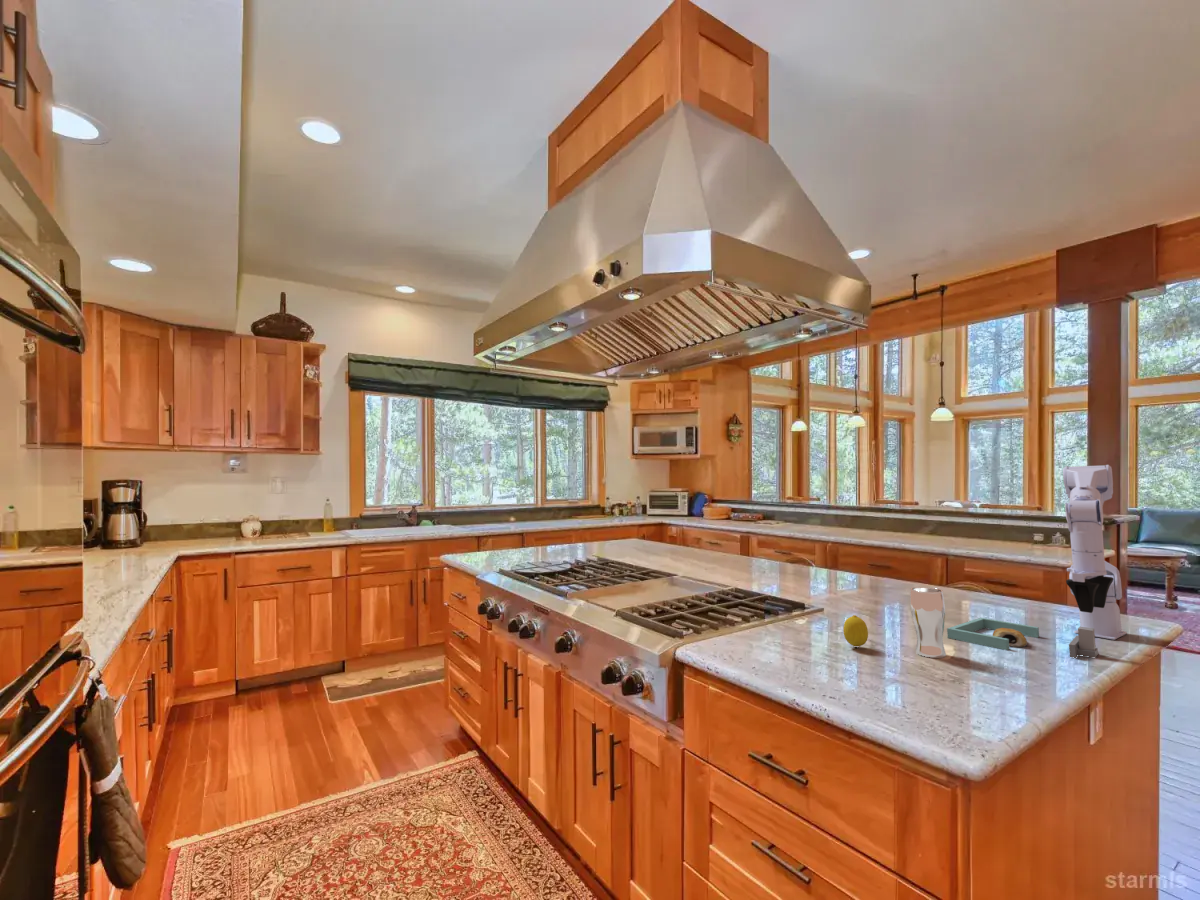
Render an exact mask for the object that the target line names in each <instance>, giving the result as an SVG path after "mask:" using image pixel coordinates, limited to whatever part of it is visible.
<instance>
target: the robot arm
mask: <svg viewBox="0 0 1200 900" xmlns="http://www.w3.org/2000/svg"><path fill="white" fill-rule="evenodd" d="M1112 468H1113V467H1112V466H1111V465H1109V464H1105V465H1081V466H1079V465H1078V466H1068V465H1065V466H1064V467H1063V468H1062V478H1063V479H1062V480H1063V485H1064V489H1065V494H1066V495H1067V498H1068V499H1069V502H1065V504H1064V505H1065V518H1066V521H1067V527H1068V528H1067V529H1068V532H1070V533H1069V534H1070V535H1069V537H1070V547H1071V559H1072V560H1071V561H1072V564H1071V565H1070V567H1067V568H1066V572H1069V574H1068V575H1069V578H1068V579H1065V580H1066V581H1065V582H1066V585H1067V586H1068V588H1069V590H1070V593H1071V594H1072V595H1073V597H1074V599H1075V601H1076V603H1077V607H1078V611H1079V612H1078V613H1079V615H1078V616H1079V625H1080V626H1079V627H1087V628H1094V632H1095V638H1102V639H1107V640H1117V639H1119V638H1121V637H1122V636H1123V637H1124V636H1125V635H1127V634H1128V633H1127V631H1125V630H1122V623H1121V622H1122V621H1121V609H1120V607H1119V605H1118V603H1117V600H1121V599H1122V598H1123V590H1122V581H1121V574H1120V570H1119V569H1118V567H1116V566H1115V565H1113V564H1112V563H1110V562H1108V561H1106V560H1105V549H1104V532H1103V523H1104V510H1103V509H1104V508H1103V506H1104V503H1105V502H1106V501H1109V500H1111V499H1112V498H1113V494H1114V488H1113V487H1114V481H1113V480H1114V479H1113V469H1112ZM1073 632H1074V634H1078V629H1076V630H1074V631H1073Z"/></svg>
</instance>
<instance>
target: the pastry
mask: <svg viewBox="0 0 1200 900" xmlns="http://www.w3.org/2000/svg"><path fill="white" fill-rule="evenodd" d="M992 636H996V637H1001V638H1006V639H1009V647H1016V648H1023V647H1025V646H1026V647H1027V643H1028V641H1027V638H1026V636H1025V635H1023V634H1022V633H1021V632H1019V631H1016V630H1014V629H1008V628H999V629H996V630H994V631H993V633H992Z"/></svg>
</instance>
